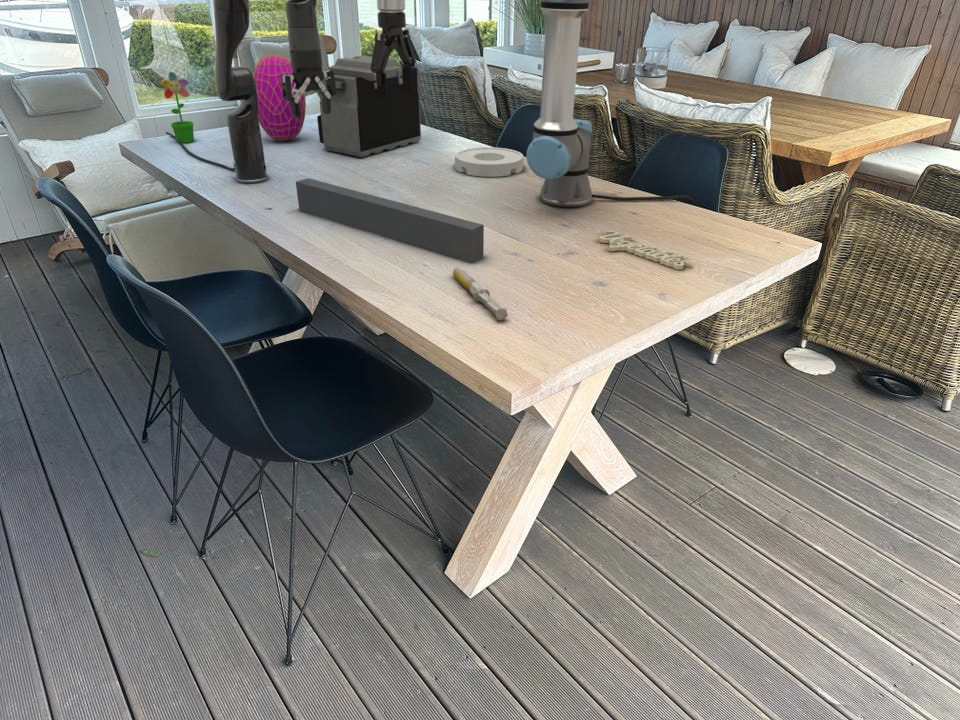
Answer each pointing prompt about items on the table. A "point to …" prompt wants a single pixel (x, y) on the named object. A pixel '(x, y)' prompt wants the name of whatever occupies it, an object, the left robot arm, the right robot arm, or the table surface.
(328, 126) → the grey tool box
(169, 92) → the potted flower
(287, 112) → the decorative egg
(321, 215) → the bar
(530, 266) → the table surface
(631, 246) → the decorative sign
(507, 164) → the ashtray
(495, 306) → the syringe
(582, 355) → the table surface
